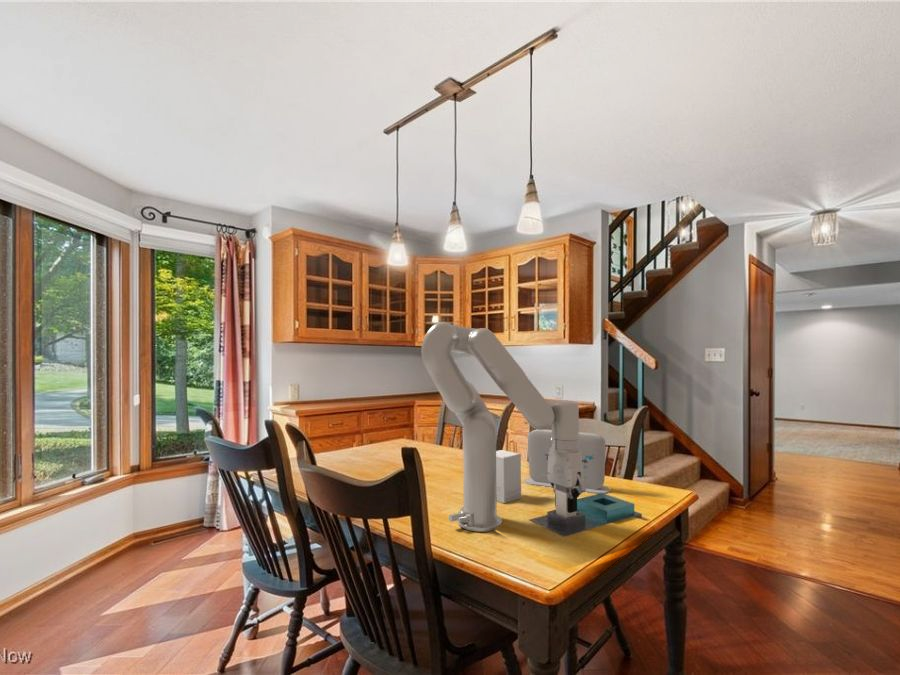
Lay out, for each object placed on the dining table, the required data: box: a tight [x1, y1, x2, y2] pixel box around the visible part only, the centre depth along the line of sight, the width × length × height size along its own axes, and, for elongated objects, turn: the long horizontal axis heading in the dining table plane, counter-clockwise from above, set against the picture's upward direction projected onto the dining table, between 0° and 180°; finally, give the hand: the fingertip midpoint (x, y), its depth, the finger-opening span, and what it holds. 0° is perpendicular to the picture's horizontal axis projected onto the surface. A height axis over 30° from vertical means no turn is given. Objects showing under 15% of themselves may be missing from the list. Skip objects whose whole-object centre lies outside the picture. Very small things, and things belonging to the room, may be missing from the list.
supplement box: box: [496, 449, 522, 504], centre depth 154 cm, size 9×9×15 cm
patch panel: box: [528, 493, 643, 537], centre depth 134 cm, size 32×14×4 cm, turn 121°
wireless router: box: [523, 429, 611, 495], centre depth 168 cm, size 31×10×20 cm, turn 62°
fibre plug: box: [555, 484, 576, 518], centre depth 130 cm, size 4×4×14 cm
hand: (566, 508), depth 130 cm, fingers closed on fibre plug, 4 cm apart
